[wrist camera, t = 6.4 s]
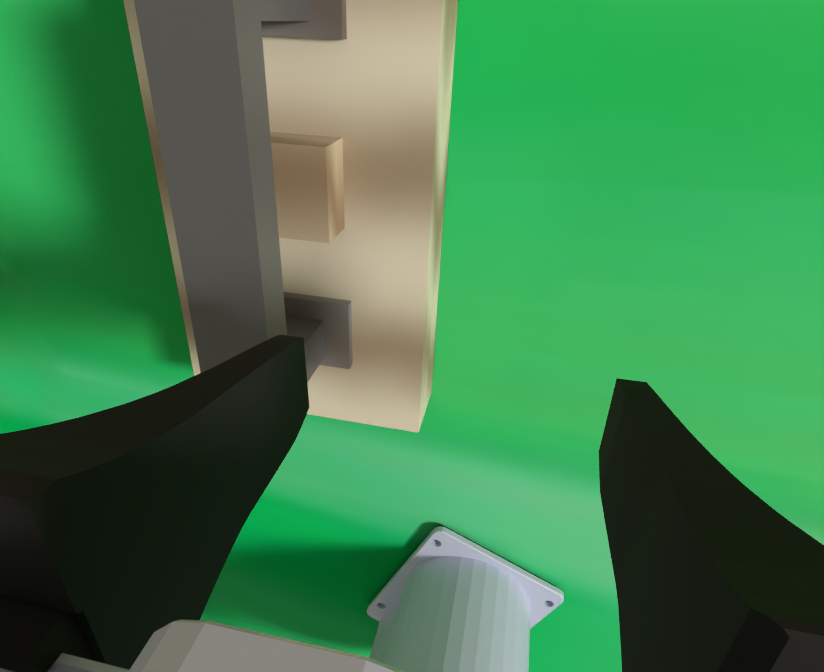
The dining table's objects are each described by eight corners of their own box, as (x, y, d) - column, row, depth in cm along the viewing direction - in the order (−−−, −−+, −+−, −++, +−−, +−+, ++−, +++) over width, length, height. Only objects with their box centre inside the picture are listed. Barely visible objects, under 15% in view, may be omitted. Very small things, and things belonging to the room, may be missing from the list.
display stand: (431, 391, 26) (410, 458, 22) (230, 360, 27) (177, 417, 23) (470, -188, 16) (445, -258, 12) (151, -183, 17) (35, -242, 13)
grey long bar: (324, 356, 22) (276, 428, 18) (267, 347, 22) (208, 416, 18) (306, -46, 15) (225, -69, 11) (225, -49, 16) (120, -71, 12)
